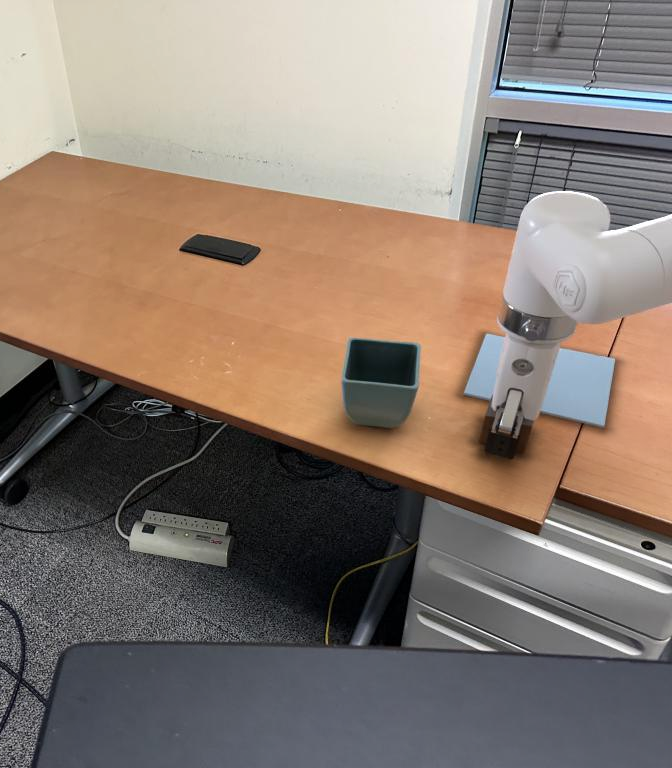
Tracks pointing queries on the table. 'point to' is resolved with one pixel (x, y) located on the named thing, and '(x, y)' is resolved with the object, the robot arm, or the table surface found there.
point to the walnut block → (524, 428)
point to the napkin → (554, 382)
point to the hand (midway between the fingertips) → (505, 432)
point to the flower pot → (380, 381)
